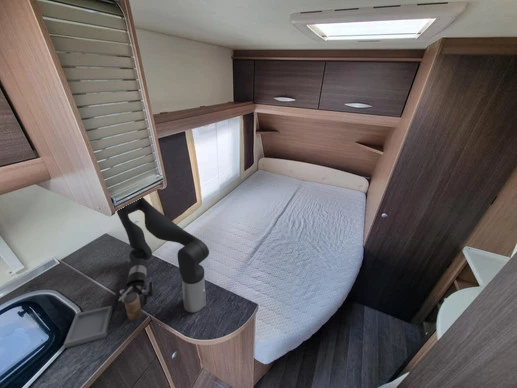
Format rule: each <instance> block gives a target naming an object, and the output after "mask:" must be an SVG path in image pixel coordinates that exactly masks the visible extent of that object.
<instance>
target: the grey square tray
mask: <svg viewBox="0 0 517 388" xmlns="http://www.w3.org/2000/svg"><path fill="white" fill-rule="evenodd" d="M112 313H113V305H108V306H107V305H106V306H104V307H97V308H95V309H91V310H87V311H82V312H78V313H75V315H74V318H73V320H72V323H71V325H70V328H69V330H68V333H67V334H66V338H65V340H64V342H63V347H64V348H65V349H68V348H71V347H72V348H73V347H77V346H79V345H82V344H86V343H89V342H94V341H97V340H100V339H105V338H106V337H107V334H108V329H109V326H110V322H111V318H112Z"/></svg>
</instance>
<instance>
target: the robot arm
mask: <svg viewBox="0 0 517 388" xmlns="http://www.w3.org/2000/svg"><path fill="white" fill-rule="evenodd" d="M137 211H141V212H142V213H143V215H144V226H145V229H146V230H147V231H148V232H149V233H150V235H152V236H153V237H155V238H156V239H159V240H160V241H165V242H173V243H177V244H180V245H182V246H183V247H180V249H179V250H178V251H177V261H178V262H177V263H178V270H179V273H180V276H181V282H182V284H181V286H182V297H183V308H184V310H185V311H186V312H187V313H191V314H192V313H193V314H194V313H197V312H199V311H200V310H202V309H203V308H204V307H206V305H207V303H206V296H207V295H206V287H205V283H206V282H205V268H204V266H202V265H201V263H202V262H203V261H204V260H206V259H207V258H208V257H209V255H210V249H209V248H208V245H207V244H205V242H204V241H202V240H201V239H200V238H198V237H197V236H195V235H193V234H191V233H189V232H188V231H186V230H185V229H184V228H182V227H180V226H179V225H178V224H176V223H175V222H174V221H172V220H171V219H170V218H168V217H167V216H166V215H164V213H162V212H160V211H159V210H158V209H157V208H155V207H154V206H153V205H152V204H151V203H150V202H149V201H147V199H145V198H144V197H143V196H142V198H141V199H139V200H137V201H135V202H133V203H131V204H129V205H127V206H125V207H124V208H122V209H120V210H118V211H117V212H116V214H117V216H118V218H119V220H120V222H121V224H122V227H123V228H124V230H125V232H126V235H127V237H128V238H127V239H128V243H129V246H130V248H132V250H131V251H129V254H128V255H129V260H130V268H129V272H128V275H127V279H126V286H125V288H124V289H120V288H117V289H116V291H115V294H114V297H113V303H114V305H117V307H116V310H117V312H118V313H121V312H122V310H123V307H124V299H125V297H126V296H127V295H128V294H129V293H132V292H135V293H137V294H138V295H139V296H141V297H142V298H143V299H142V306H143V307H146V305H147V304H148V300H149V297H153V295H154V285H153V282H152V281H150V282H149V283H147V284H146V282H147V273H148V272H147V267H148V260H150V259H152V256H153V251H152V249H151V246H150V245H148V243H147V241H146V238H145V234H144V230H143V229H142V228H141V227H140V226H139V225H137V224H136V223H135V222H133V221H132V220H131V218H130V217H129V215H130V214H131V213H134V212H137ZM146 289H148V292H147V291H146Z"/></svg>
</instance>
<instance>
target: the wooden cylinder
mask: <svg viewBox="0 0 517 388" xmlns="http://www.w3.org/2000/svg"><path fill="white" fill-rule="evenodd" d="M123 305H124V307H125V310H126V312H125V313H126V316H127V318H128V320H129V321H132V322H133V321H137V320H139V319H140V318H141V317H142V315H143V310H142V305H141V300H140V295H138V294H137V293H135V292H132V293H129V294H128V295H127V296H126V297H125V299H124V303H123Z"/></svg>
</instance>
